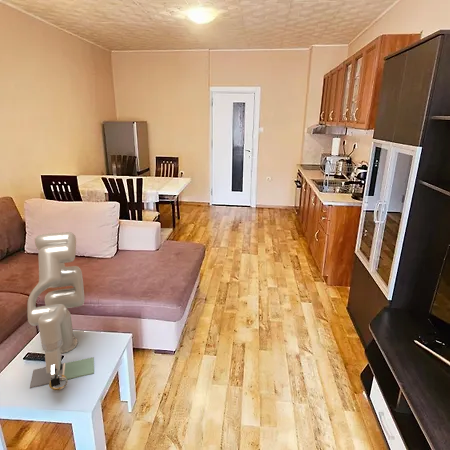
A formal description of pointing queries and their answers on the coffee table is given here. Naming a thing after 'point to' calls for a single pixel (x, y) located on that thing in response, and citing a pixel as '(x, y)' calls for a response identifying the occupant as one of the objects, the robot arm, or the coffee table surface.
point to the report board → (64, 372)
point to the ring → (59, 387)
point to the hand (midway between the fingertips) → (57, 377)
